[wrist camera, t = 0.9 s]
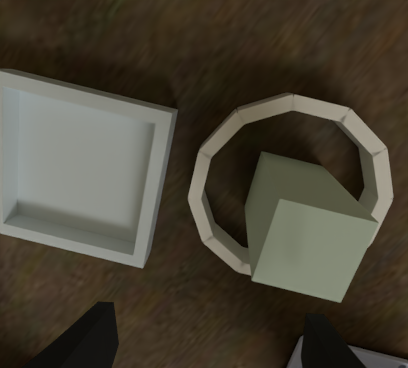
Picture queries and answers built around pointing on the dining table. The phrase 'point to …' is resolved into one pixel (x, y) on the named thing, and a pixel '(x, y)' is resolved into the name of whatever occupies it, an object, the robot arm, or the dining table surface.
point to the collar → (343, 116)
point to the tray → (81, 166)
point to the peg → (304, 228)
